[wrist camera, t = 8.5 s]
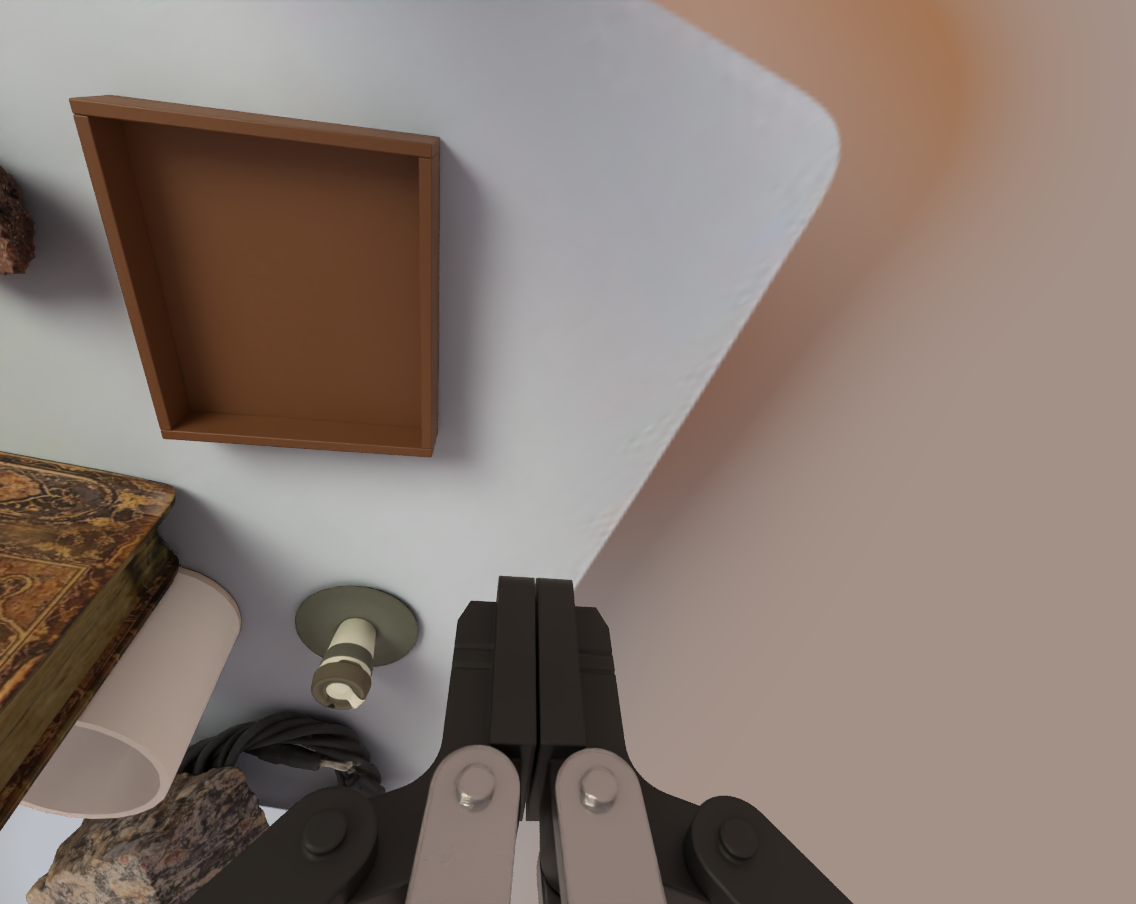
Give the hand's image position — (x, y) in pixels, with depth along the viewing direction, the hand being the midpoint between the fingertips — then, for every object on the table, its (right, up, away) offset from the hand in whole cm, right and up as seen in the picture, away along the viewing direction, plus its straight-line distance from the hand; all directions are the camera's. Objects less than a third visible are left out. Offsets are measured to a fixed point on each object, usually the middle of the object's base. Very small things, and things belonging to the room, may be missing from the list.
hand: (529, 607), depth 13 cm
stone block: (-26, -27, +24) cm, 45 cm away
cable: (-22, -22, +35) cm, 47 cm away
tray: (-11, +11, +15) cm, 22 cm away
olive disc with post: (-13, -8, +27) cm, 31 cm away
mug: (-25, -7, +25) cm, 36 cm away
